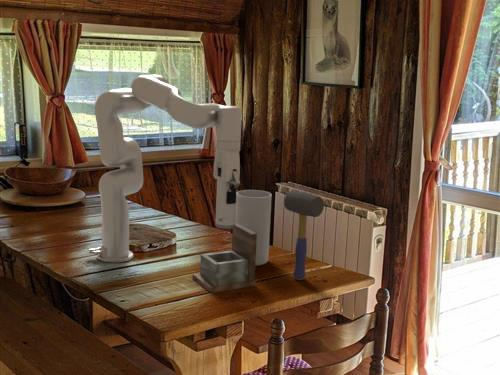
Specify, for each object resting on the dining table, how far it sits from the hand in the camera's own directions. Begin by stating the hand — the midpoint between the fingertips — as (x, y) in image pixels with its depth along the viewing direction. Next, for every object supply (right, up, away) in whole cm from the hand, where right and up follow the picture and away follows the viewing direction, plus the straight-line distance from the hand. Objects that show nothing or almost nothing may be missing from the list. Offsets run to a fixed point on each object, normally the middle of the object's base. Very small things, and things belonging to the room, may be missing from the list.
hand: (226, 200), depth 209 cm
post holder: (-1, -27, +6) cm, 27 cm away
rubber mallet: (+24, -27, +12) cm, 38 cm away
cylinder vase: (+8, -23, +28) cm, 37 cm away
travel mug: (0, -9, +2) cm, 9 cm away
